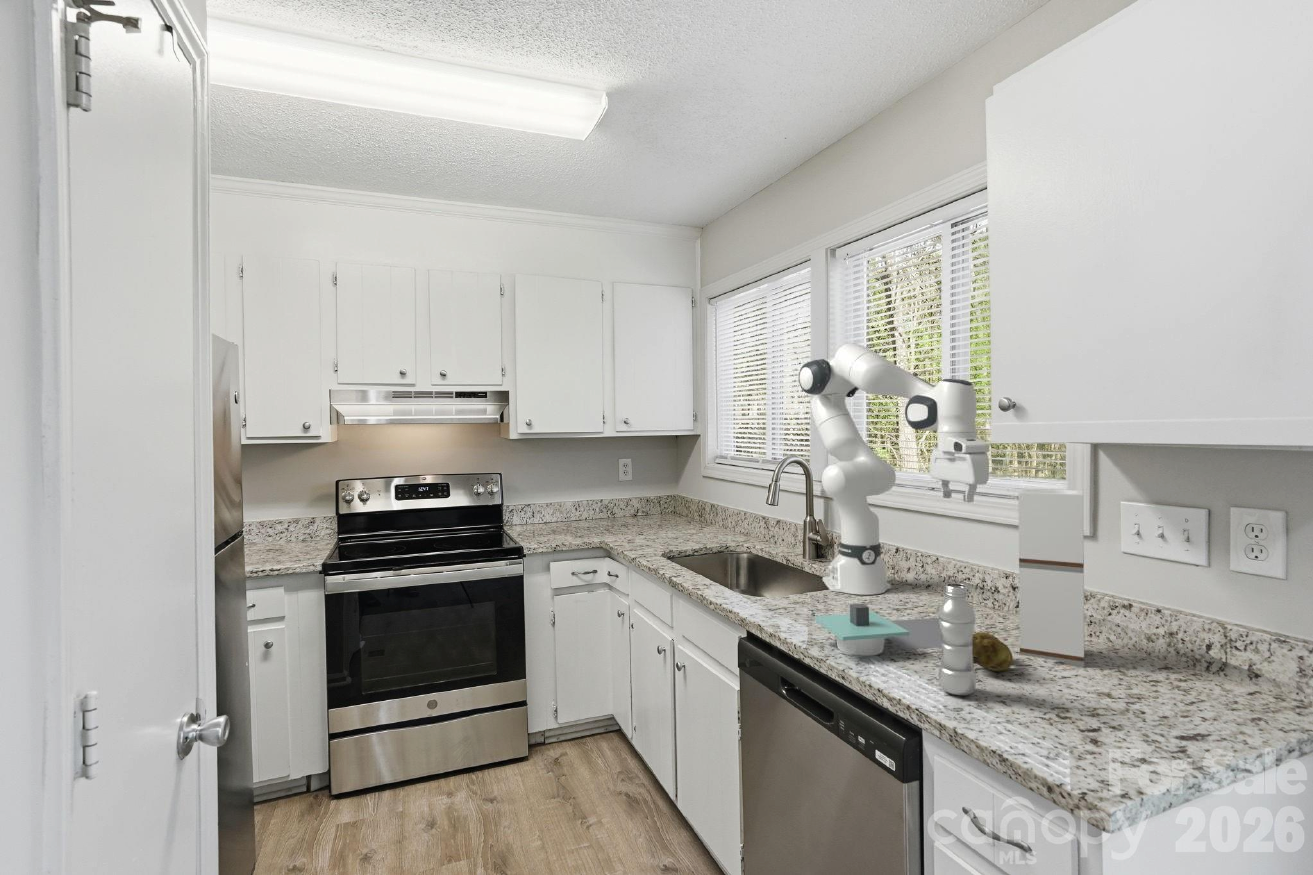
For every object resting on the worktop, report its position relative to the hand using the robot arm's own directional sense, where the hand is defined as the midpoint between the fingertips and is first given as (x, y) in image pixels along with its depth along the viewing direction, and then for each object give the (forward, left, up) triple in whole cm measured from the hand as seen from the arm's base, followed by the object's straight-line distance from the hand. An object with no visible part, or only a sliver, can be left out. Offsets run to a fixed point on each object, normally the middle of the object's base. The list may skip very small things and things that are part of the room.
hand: (957, 499), depth 163 cm
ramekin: (+14, -32, -31) cm, 47 cm away
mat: (+7, -13, -31) cm, 34 cm away
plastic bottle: (+39, -24, -31) cm, 55 cm away
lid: (+14, -32, -26) cm, 43 cm away
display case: (+24, +7, -31) cm, 40 cm away
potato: (+29, -11, -31) cm, 44 cm away
